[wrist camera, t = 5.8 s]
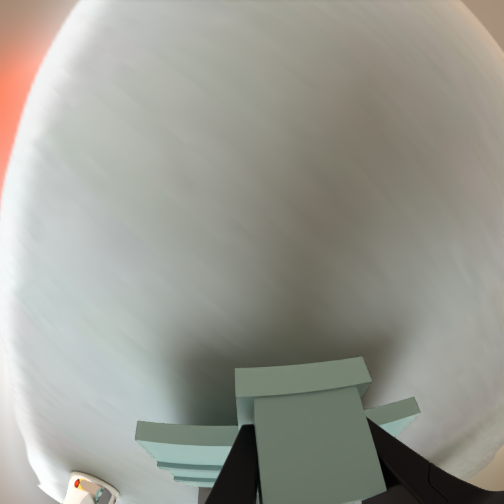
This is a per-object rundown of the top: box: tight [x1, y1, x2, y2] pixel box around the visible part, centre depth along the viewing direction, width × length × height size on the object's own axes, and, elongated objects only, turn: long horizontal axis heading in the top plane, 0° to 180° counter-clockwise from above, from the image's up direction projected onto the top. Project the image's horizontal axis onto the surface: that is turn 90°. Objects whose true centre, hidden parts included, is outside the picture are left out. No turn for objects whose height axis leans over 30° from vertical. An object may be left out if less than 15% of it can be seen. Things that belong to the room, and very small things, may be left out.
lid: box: [135, 356, 421, 504], centre depth 10 cm, size 13×17×4 cm
